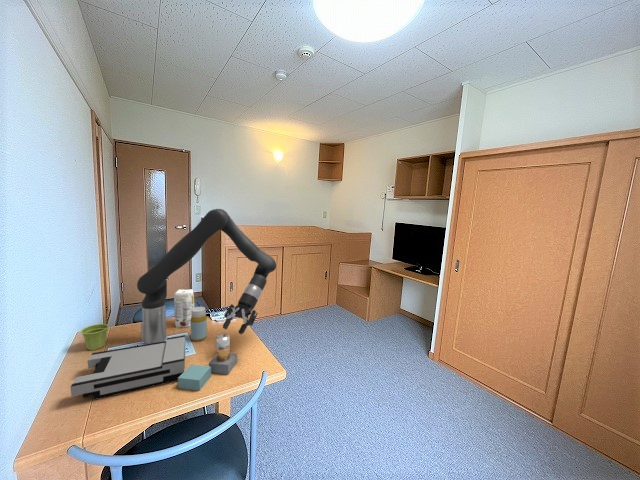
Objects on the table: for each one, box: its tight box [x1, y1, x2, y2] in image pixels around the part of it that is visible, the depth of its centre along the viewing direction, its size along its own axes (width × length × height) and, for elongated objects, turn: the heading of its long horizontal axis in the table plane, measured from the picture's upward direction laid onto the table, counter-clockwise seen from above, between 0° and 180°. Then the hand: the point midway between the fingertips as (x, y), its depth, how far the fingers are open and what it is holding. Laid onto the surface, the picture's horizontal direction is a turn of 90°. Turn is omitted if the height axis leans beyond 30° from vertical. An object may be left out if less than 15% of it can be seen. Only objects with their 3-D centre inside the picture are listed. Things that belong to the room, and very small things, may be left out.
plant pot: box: [80, 323, 110, 351], centre depth 118 cm, size 9×9×9 cm
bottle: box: [190, 306, 208, 342], centre depth 128 cm, size 7×7×15 cm
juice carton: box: [173, 288, 195, 328], centre depth 141 cm, size 8×9×19 cm
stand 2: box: [208, 352, 238, 375], centre depth 107 cm, size 8×8×4 cm
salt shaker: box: [215, 333, 231, 362], centre depth 106 cm, size 5×5×9 cm
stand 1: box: [177, 364, 212, 392], centre depth 98 cm, size 8×8×4 cm
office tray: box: [70, 334, 186, 400], centre depth 100 cm, size 21×32×8 cm, turn 116°
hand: (232, 331), depth 110 cm, fingers open, 8 cm apart
